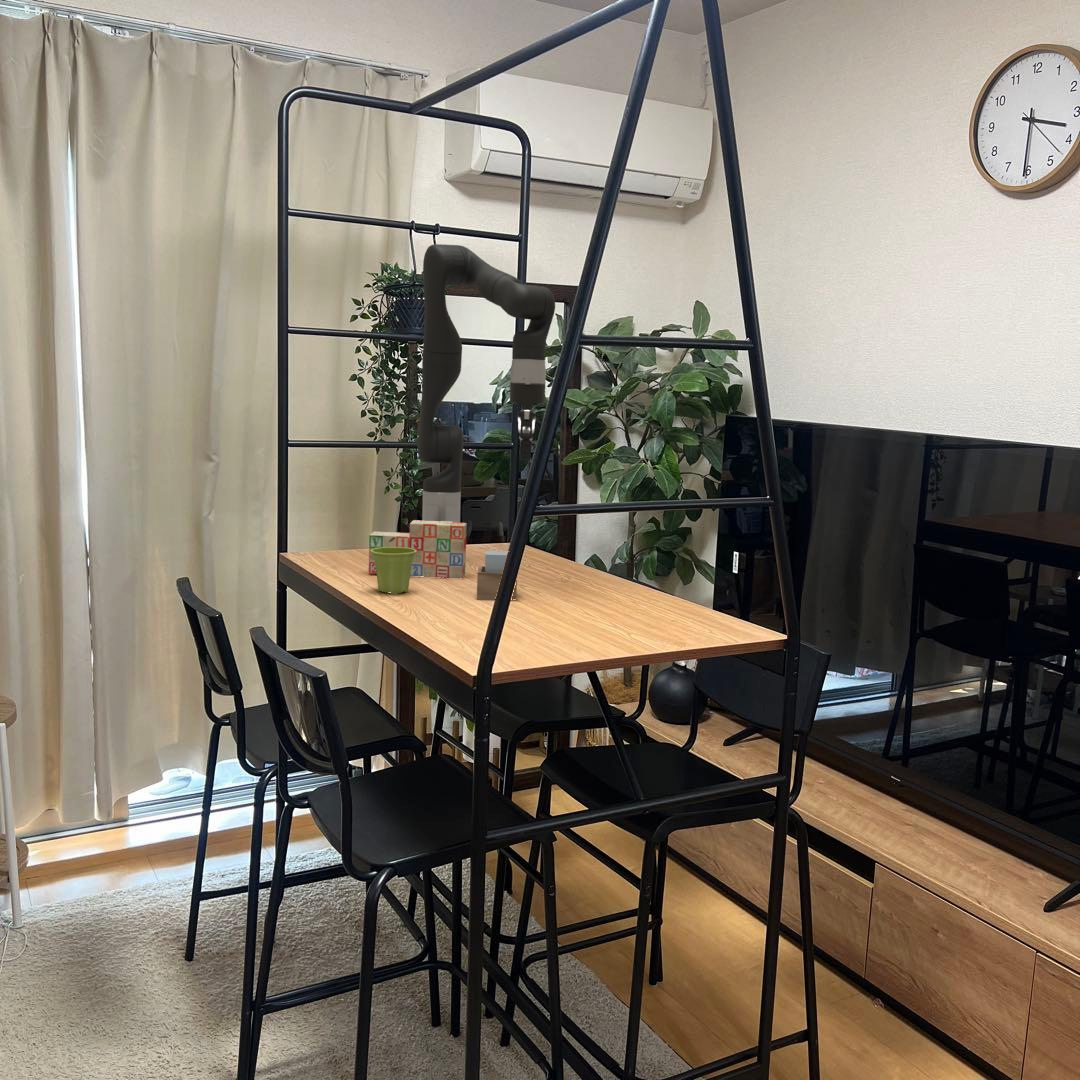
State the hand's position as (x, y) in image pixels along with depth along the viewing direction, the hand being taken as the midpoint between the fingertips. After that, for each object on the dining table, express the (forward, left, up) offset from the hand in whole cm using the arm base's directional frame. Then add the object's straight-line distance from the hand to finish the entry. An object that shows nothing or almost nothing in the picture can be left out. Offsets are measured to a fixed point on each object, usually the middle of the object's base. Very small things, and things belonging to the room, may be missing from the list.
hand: (525, 457), depth 225 cm
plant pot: (+11, -26, -28) cm, 40 cm away
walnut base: (+13, -5, -28) cm, 31 cm away
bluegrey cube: (+13, -5, -24) cm, 28 cm away
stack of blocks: (-9, -23, -28) cm, 38 cm away
